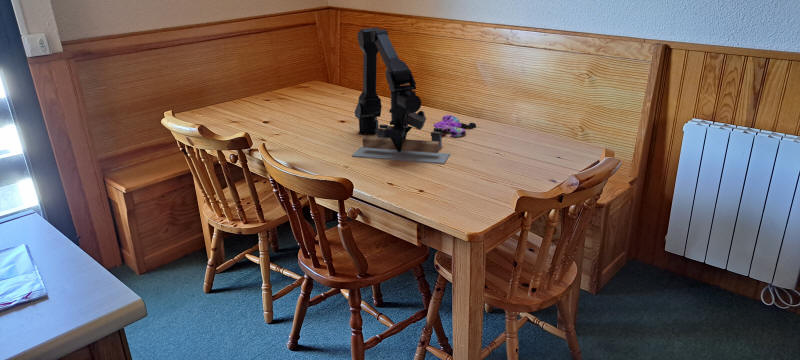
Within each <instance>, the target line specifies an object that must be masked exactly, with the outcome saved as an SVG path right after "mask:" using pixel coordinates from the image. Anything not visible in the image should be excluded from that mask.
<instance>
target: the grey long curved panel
mask: <svg viewBox="0 0 800 360" xmlns="http://www.w3.org/2000/svg"><path fill="white" fill-rule="evenodd" d="M450 155H451V154H450V153H447V152H438V153H429V152H416V151H403V150H401V152H398V151H397V150H390V149H377V148H364V147H363V146H360V147H359V148H358V149H357V150H356V151H355V152H354V153H353V154H352V155H351V157H352V158H361V159H362V158H364V159H373V160H375V159H376V160H387V161H388V160H389V161H400V162H402V161H403V162H412V163H413V162H415V163H423V164H437V165H438V164H439V165H446V162H447V161H448V159H449V157H450Z"/></svg>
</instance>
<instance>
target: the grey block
mask: <svg viewBox="0 0 800 360" xmlns="http://www.w3.org/2000/svg"><path fill="white" fill-rule="evenodd" d="M439 132H443V128H435V127H434V128H433V131H431V132H430V136H431V141H437V142H439V150H441V148H442V146H443V145H442V144H443V142H442V140H443V134H442V133H439Z"/></svg>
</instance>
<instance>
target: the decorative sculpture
mask: <svg viewBox="0 0 800 360" xmlns="http://www.w3.org/2000/svg"><path fill="white" fill-rule="evenodd" d="M476 126H477V124H476V122H475V123H474V122H470V123H468V124H466V123H463V122H460V119H459V117H456V116H454V115H450V114H446V115H444V116H442V120H441V121H439V122H436V123H434V124H433V127H434V128H443V132H439V133H442V135H444V134H445V133H449V135H450V136H452V137H453V138H461V137H462V136H464V135H465V134H467V133H466V132H467V131H466V129H467V128H470V129H474V128H476Z"/></svg>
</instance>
